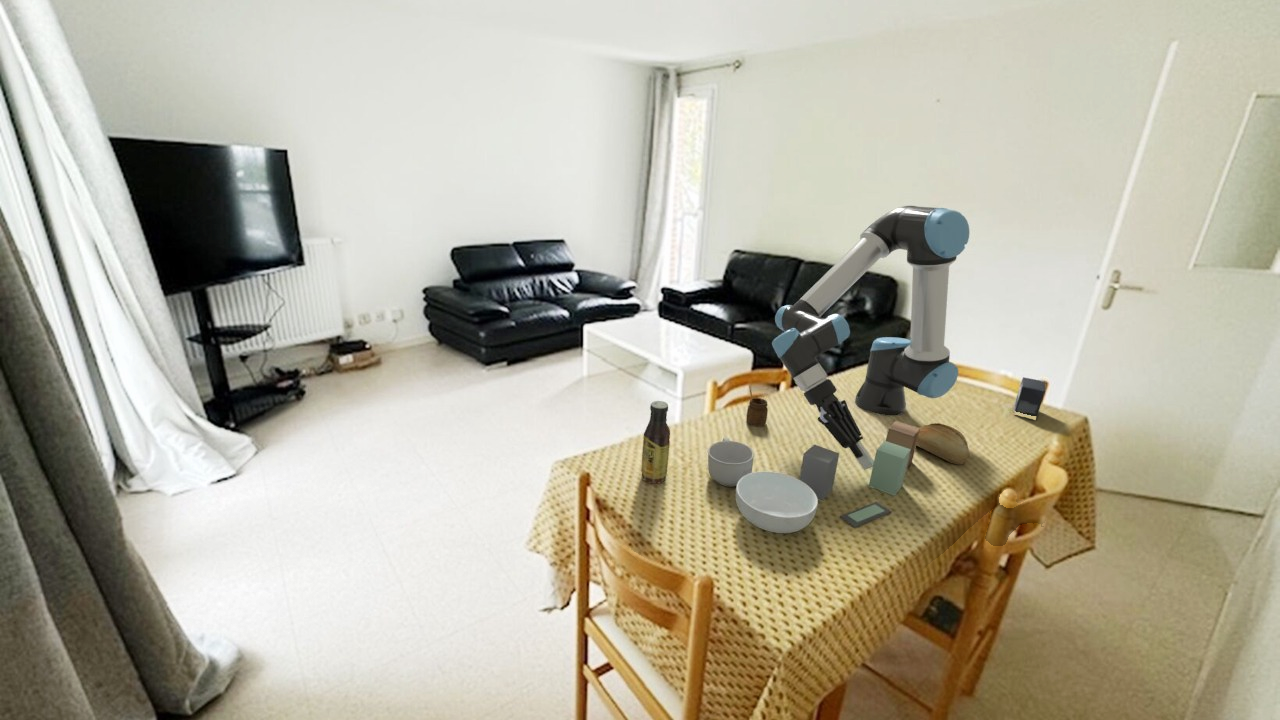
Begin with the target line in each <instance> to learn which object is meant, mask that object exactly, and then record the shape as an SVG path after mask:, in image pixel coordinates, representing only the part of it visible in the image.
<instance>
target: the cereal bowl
mask: <svg viewBox="0 0 1280 720" xmlns="http://www.w3.org/2000/svg"><path fill="white" fill-rule="evenodd" d="M735 487H736V488H735V502H736V505H737V508H738V510H739V512H740V514H742V516H743V517H744V519H746V520H747V521H748V522H750V524H753V526H755V527H757V528H760V529H762V530H765V531H766V532H771V533H775V534H776V533H777V534H791V533H795V532H798V531H800V530H803V529H805V528H806V527H807V526H808V525H809V524H811V522H812V520H813V519H814V517H815V516H816V512H817V509H818V505H819V500H818V499H817V496H816V494H815V493H814V491H813V490H812V489H811V488H810V487H809V486H808V485H806V484H805V483H804V482H802V481H800V480H799V479H798V478H797V477H794V476H792V475H789V474H787V473H783V472H777V471H771V470H770V471H767V470H766V471H761V470H760V471H754V472H752V473H750V474H747V475H745V476H743V477H742V478H741V479H740V480H739V481H738V483H737V486H735Z"/></svg>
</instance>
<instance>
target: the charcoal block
mask: <svg viewBox="0 0 1280 720" xmlns="http://www.w3.org/2000/svg"><path fill="white" fill-rule="evenodd" d="M839 458H840V453H839V452H837V451H835V450H831V449H828V448H825V447H823V446H820V445H817V444H813V445H812V446H811V447H810V448H808V449H807V450H806V451H805V452H804V453H803V456H802V462H801V469H800V474H799V479H798V480H800V481H802V482H804V483H805V484H806V485H808V486H809V487H810V488H811V489H812V490H813V491H814V493H815V494H816V496H817V499H818V501H821V502H823V501H824V500H825V499H826V498H827V497H828V496H829V495H830V494H831V492H833V489H834V483H835V477H836V473H837V468H838V462H839Z"/></svg>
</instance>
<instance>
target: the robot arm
mask: <svg viewBox="0 0 1280 720" xmlns="http://www.w3.org/2000/svg"><path fill="white" fill-rule="evenodd" d="M969 239H970V225H969V223H968V220H967V218H966V217H965V216H964V215H963V214H962V213H961V212H960V211H958V210H953V209H948V208H945V207H944V208H943V207H930V206H929V207H927V206H915V205H903V206H899V207H897V208H895V209H892V210H891V211H888V212H886V213H885V214H884V215H881V216H880V217H879V218H878V219H876V220H875V221H874V222H873V223H871V224H870V225H869V226H868V227H866V228H865V230H863V232H862V233H861V234H860V236H859V240H858V241H857V242H856V243H855V244H854V245H853V247H851V248H850V249H849V250H848V251H847V252H846V253H845V254H844V255H843V256H842V257H841V258H840V259H839V260H838V261H837V262H836V263H835V264H834V265H833V266H832V267H831V268H830V269H829V270H828V271H826V272H825V273H824V274H823V276H822V277H821V278H820V279H818V281H816V282H815V284H813V286H812V287H810V289H808V290H807V291H806V292H805V293H804V294H803V296H802V297H800V299H799V300H797V301H796V302H795V303H794V304H793V305H792V304H786V305H785V304H784V306H781V307H780V308H779V309H778V310H777V312H776V314H775V316H774V320H775V321H774V322H775V325H776V327H777V328H779V329H780V330H781V331H783V332H782V333H781V334H779V335H778V336H777V337H775V338H774V339H773V340H772V342H771V345H772V348H773V351H774V352H775V353H776V356H777V358H778V359H780V362H781V363H782V364H783V366H784V367H785V368H786V370H787V371H788V372H789V374H790V376H791V378H792V379H793V380H794V383H795V385H796V386H797V387H798V388H799V390H800V391H802V392H804V393H803V396H804V398H805V399H806V400H807V402H808V404H809V405H810V406H814V405H815V406H816V408H817V410H818V412H819V413H820V416H818V417H817V420H818V422H819V423H821V424H822V425H823V427H824V428H826V430H827V431H828V432H829V433H830V434H831V435H832V436H833V438H834V440H836V441H837V442H838V444H839V445H840V446H841V447H842V448H843V449H845V450H846V449H848V448H849V449H850V451H851V453H852V454H853V455H854V457H855V458H856V460H857V462H858V463H859V465H860V466H861V468H862V469H863V471H866V470H868V469H870V468H871V469H872V468H873V464H874V459H873V458H872V457H871V455H870V453H869V452H868V450H867V449H866V447H865V446H864V444H863V443H862V442H861V441H862V440H864V436H863V435H862V432H861V431H860V428H859V426H858V424H857V423H856V421H855V419H854V416H853V415H852V413H851V411H850V409H849V408H848V407H849V406H848V404H847V401H846V400H845V399H843V400H839V398H838V397H837V396H836V395H835V393H836V392H837V390H838V389H837V387H836V385H834V382H832V380H831V379H830V378H827V377H828V374H827V372H826V371H825V369H824V368H823V367H822V366H821V364H820V363H819V361H818V359H817V358H818V356H820V355H823V353H826V352H827V351H829V350H831V349H833V348H835V347H836V346H839V345H840V343H843V342H844V341H845V340H847V339H848V338H849V337H850V334H851V330H850V325H849V323H848V322H847V320H846V319H845V318H844V317H843V315H840V314H839V313H833V314H830V315H827V316H826V317H822V315H824V314H825V312H826V311H828V309H830V307H832V306H833V305H834V304H835V303H836V302H837V301H838V300H839V299H840V298H841V297H842V296H843V295H845V293H846V292H847V291H848V290H849V289H850V288H851V287H852V286H853V285H854V284H855V283H856V282H857V281H859V279H861V277H863V275H864V274H865V273H866V272H868V270H869V269H871V268H872V267H873V266H874V265H875V264H876V263H877V262H878V261H879V260H880V259H884V258H887V257H888V256H889V255H890V254H892V252H894V251H896V250H905V251H906V262H907V264H909V265H910V266H911V267H912V280H911V281H912V283H911V284H912V285H911V307H910V308H911V313H910V314H911V315H910V335H909V336H910V339H908V338H902V337H893V336H892V337H891V336H889V337H887V336H885V337H884V336H883V337H877V338H876V339H874V340H873V342H872V345H871V348H870V352H869V357H868V364H867V366H866V367H867V368H866V374H865V379H864V382H863V383H862V384H861V387H860V388H859V389H858V391H857V393H856V394H855V401H854V403H855V405H857V407H859V408H861V409H862V410H864V411H866V412H869V413H871V414H872V413H873V414H876V415H881V416H889V417H890V416H892V417H893V416H901V415H903V414H904V413H905V412H906V408H907V407H906V406H907V402H906V395H905V388H906V389H909V390H911V391H913V392H914V393H917V394H918V395H919V396H923V397H926V398H928V399H938V398H941V397H942V396H944V395H945V394H947V393H948V392H949V391H951V389H952V388H954V385H955V384H956V382H957V379H958V378H959V369H958V366H957V365H956V364H955V363H954V362H951V361H950V355H951V354H950V353H951V352H950V349H949V348H948V347H947V346H946V345H945V338H946V336H945V335H946V321H947V320H946V319H947V306H948V304H947V303H948V290H949V277H950V274H949V273H950V266H951V265H952V264H953V263H954V262H956V261H957V256H959V255H960V254H962V252H963V251H964V250H965V249H966V246H965V245H968V242H969Z"/></svg>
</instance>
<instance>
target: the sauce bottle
mask: <svg viewBox="0 0 1280 720" xmlns="http://www.w3.org/2000/svg"><path fill="white" fill-rule="evenodd" d="M649 409H650V417H649V421H648V424H647V426H646V429H644V432H643V437H642V438H643V439H642V440H643V441H642V454H641V455H642V456H641V467H640V471H641V478H642V480H643V481H645V482H647V483H648V484H660V483H663V482H664V481H665V480H666V479H667V474H668V464H669V463H668V462H669V456H670V455H669V453H670V452H669V451H670V444H671V443H670V436H671V430H670V426H668V423H667V416H668V415H667V414H668V412H669V404H668V403H667V402H666V401H662V400H654V401H652V402H651V404H650V407H649Z"/></svg>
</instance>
